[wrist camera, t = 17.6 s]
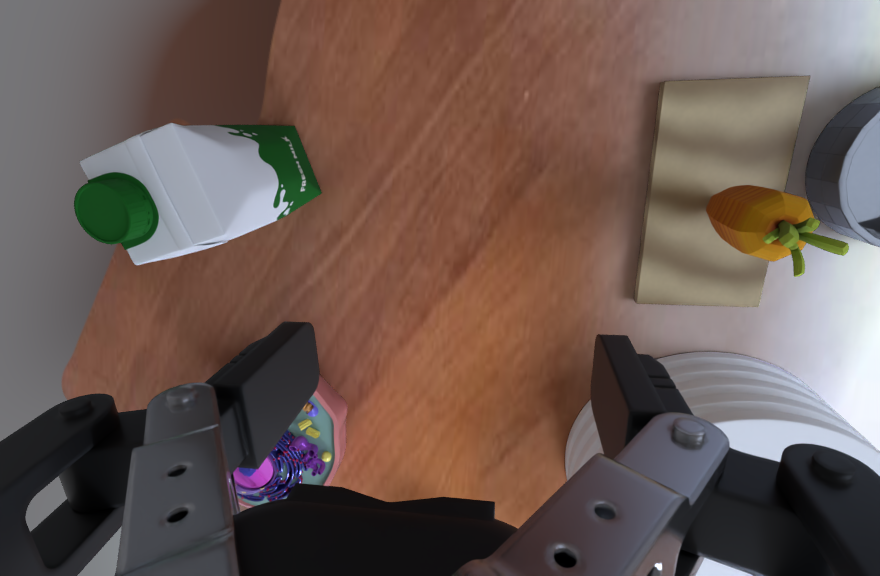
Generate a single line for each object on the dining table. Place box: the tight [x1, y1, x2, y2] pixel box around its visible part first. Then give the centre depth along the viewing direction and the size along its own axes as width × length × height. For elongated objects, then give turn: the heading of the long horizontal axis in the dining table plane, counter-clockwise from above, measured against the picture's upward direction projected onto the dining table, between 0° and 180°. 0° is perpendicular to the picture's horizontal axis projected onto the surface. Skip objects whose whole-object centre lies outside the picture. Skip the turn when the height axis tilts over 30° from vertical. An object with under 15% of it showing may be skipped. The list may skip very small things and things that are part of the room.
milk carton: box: [74, 123, 322, 265], centre depth 38 cm, size 9×9×20 cm
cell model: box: [233, 374, 348, 508], centre depth 52 cm, size 17×20×11 cm
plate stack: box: [565, 352, 880, 576], centre depth 46 cm, size 28×28×12 cm
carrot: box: [706, 185, 849, 277], centre depth 34 cm, size 5×5×15 cm
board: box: [634, 76, 810, 307], centre depth 42 cm, size 20×11×1 cm, turn 1°
